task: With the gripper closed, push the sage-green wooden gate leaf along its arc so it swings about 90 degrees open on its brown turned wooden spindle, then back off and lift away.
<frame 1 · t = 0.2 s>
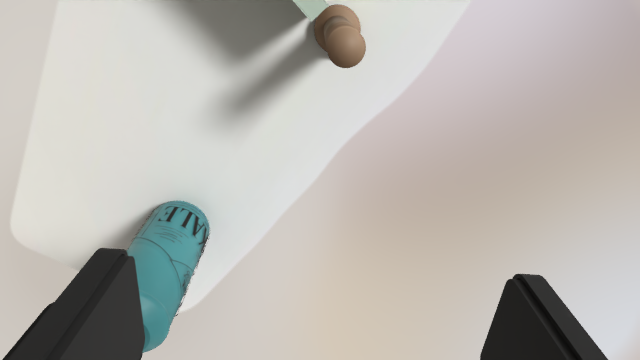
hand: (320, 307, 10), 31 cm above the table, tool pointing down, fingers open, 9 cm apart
beverage bottle: (185, 216, 45), on the table
brown turned wooden spindle: (336, 29, 36), on the table
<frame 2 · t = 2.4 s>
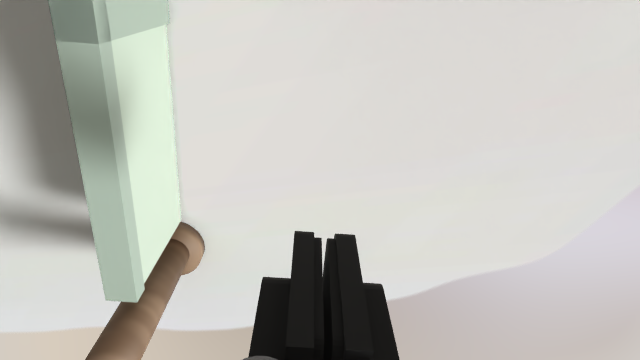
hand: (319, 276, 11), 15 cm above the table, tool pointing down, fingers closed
gate leaf: (137, 142, 21), point 4 cm above the table, hinge at 0.0°
brown turned wooden spindle: (176, 244, 30), on the table
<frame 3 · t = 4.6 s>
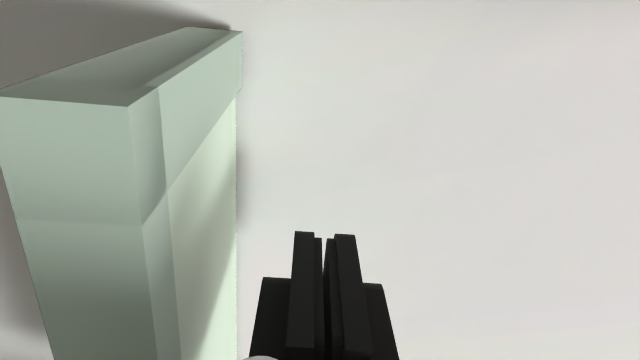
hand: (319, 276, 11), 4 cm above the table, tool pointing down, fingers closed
gate leaf: (188, 319, 11), point 4 cm above the table, hinge at 0.4°, touching gripper
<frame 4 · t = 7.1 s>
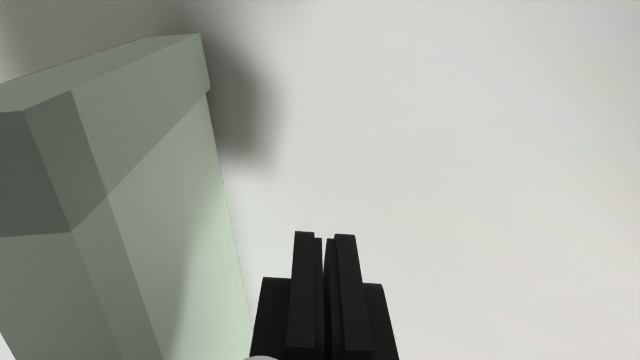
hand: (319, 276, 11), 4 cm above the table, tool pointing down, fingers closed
gate leaf: (189, 325, 11), point 4 cm above the table, hinge at 49.1°, touching gripper
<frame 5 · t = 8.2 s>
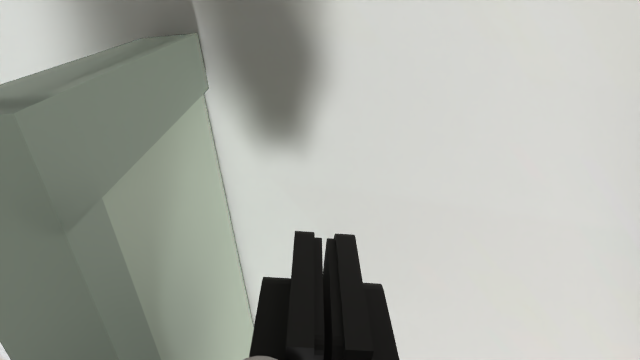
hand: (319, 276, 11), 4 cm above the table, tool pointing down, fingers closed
gate leaf: (188, 326, 11), point 4 cm above the table, hinge at 72.2°, touching gripper
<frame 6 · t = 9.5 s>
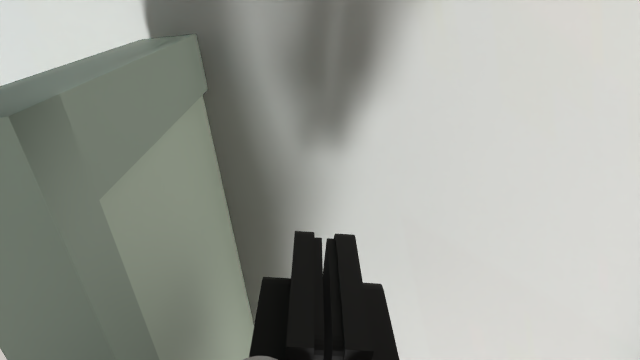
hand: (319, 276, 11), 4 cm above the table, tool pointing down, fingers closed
gate leaf: (189, 328, 11), point 4 cm above the table, hinge at 95.1°, touching gripper
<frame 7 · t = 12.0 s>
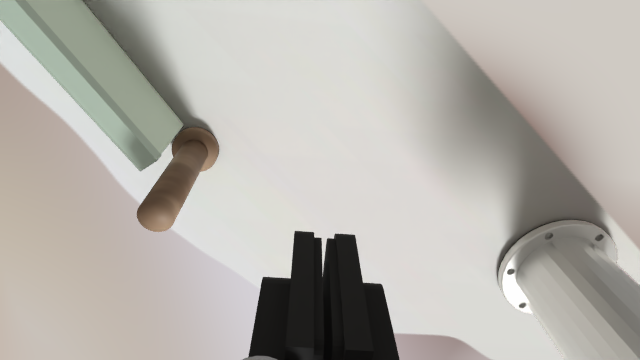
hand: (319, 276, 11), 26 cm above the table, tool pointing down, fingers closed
gate leaf: (98, 67, 30), point 4 cm above the table, hinge at 95.3°
brown turned wooden spindle: (197, 147, 38), on the table
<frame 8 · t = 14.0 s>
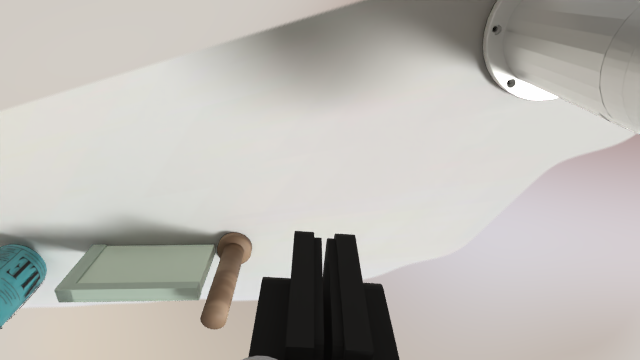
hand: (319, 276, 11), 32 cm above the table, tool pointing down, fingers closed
beverage bottle: (30, 256, 50), on the table
gate leaf: (142, 270, 45), point 4 cm above the table, hinge at 95.3°
brown turned wooden spindle: (235, 246, 49), on the table
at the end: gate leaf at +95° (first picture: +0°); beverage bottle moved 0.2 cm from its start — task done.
